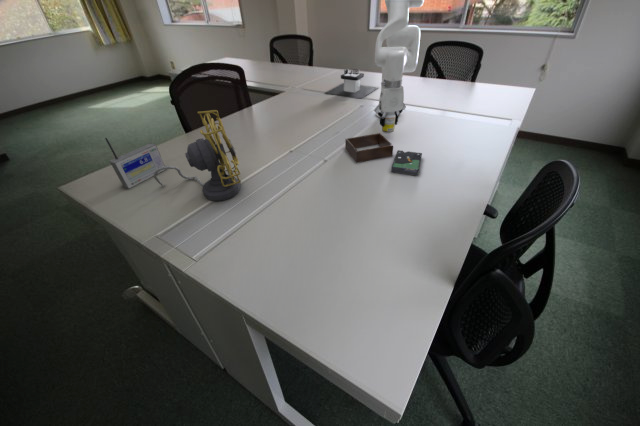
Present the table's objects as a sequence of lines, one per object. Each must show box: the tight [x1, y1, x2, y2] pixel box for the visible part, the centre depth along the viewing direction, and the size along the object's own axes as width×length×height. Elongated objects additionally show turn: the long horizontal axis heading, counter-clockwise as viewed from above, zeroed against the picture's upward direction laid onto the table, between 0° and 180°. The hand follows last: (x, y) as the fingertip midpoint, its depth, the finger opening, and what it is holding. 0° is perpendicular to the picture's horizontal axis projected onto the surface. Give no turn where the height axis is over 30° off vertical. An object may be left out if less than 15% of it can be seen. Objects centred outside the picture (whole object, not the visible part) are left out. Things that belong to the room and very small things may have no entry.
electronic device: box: [105, 137, 167, 190], centre depth 116 cm, size 17×7×20 cm, turn 148°
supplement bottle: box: [381, 112, 396, 134], centre depth 135 cm, size 6×6×10 cm
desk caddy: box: [344, 132, 394, 164], centre depth 129 cm, size 17×14×5 cm
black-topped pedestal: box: [325, 68, 379, 100], centre depth 198 cm, size 28×26×13 cm
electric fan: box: [153, 109, 242, 202], centre depth 101 cm, size 26×32×30 cm
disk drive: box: [390, 149, 423, 176], centre depth 119 cm, size 10×3×15 cm
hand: (388, 124), depth 136 cm, fingers closed on supplement bottle, 5 cm apart
